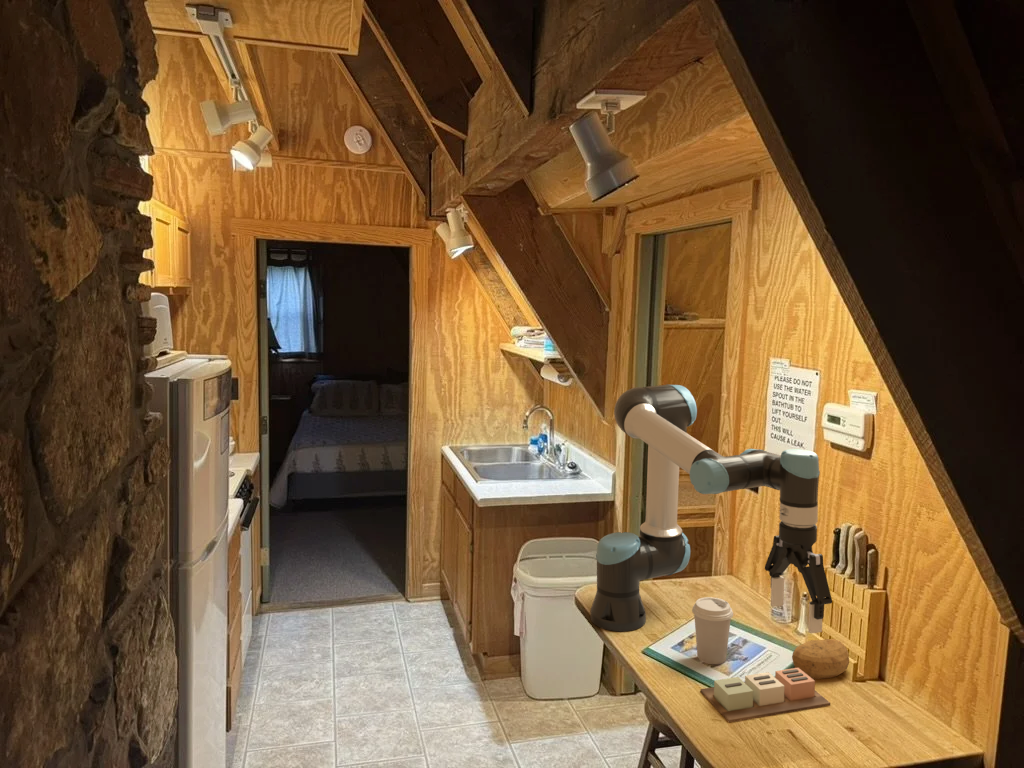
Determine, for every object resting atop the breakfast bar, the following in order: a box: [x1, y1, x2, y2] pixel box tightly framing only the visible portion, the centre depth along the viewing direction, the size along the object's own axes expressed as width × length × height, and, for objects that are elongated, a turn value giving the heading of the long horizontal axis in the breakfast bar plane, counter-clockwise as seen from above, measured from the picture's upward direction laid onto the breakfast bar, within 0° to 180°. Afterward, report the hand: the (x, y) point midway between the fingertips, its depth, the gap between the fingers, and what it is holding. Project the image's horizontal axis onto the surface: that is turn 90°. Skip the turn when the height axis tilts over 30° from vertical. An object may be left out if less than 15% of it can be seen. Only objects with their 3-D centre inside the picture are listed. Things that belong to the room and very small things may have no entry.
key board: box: [699, 681, 831, 723], centre depth 154 cm, size 12×24×2 cm, turn 103°
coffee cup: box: [691, 596, 734, 665], centre depth 172 cm, size 10×10×15 cm
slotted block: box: [713, 676, 753, 711], centre depth 152 cm, size 6×6×4 cm
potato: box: [791, 638, 850, 679], centre depth 165 cm, size 10×14×8 cm
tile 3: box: [774, 667, 816, 701], centre depth 156 cm, size 6×6×4 cm
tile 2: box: [744, 672, 784, 706], centre depth 154 cm, size 6×6×4 cm
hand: (795, 618), depth 154 cm, fingers open, 13 cm apart
